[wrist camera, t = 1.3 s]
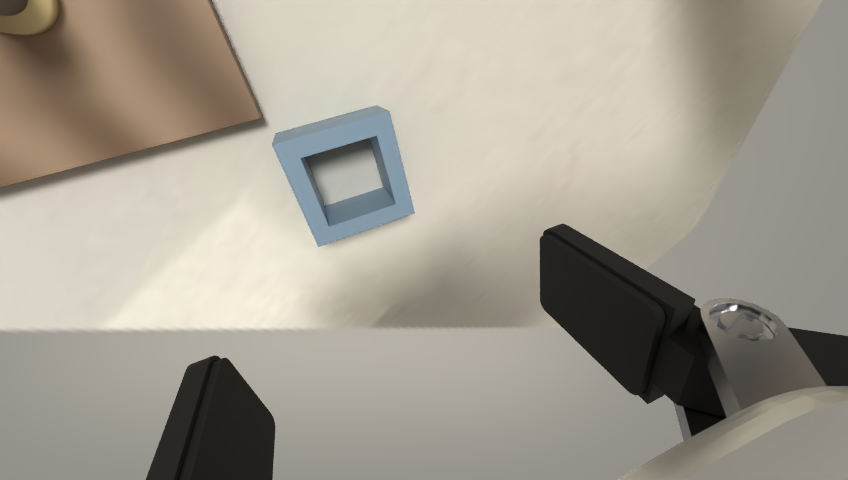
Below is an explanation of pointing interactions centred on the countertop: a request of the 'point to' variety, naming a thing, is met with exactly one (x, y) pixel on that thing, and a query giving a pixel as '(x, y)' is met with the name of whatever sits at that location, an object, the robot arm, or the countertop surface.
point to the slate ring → (357, 210)
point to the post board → (111, 80)
